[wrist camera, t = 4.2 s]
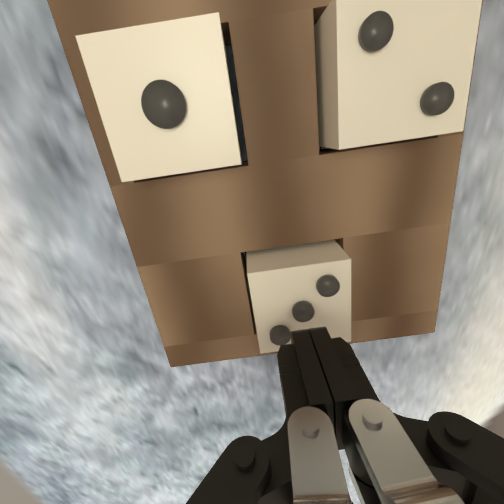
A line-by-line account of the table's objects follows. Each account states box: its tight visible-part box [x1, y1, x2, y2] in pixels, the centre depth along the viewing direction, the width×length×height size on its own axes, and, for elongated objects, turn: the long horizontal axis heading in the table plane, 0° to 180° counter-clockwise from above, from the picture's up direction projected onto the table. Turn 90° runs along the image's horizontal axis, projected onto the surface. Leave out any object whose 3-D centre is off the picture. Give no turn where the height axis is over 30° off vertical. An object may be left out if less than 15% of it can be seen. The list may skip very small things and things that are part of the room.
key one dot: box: [75, 12, 242, 182], centre depth 12 cm, size 5×5×4 cm
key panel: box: [47, 0, 483, 367], centre depth 16 cm, size 17×19×3 cm
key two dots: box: [314, 0, 482, 150], centre depth 12 cm, size 5×5×4 cm
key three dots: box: [246, 239, 351, 354], centre depth 16 cm, size 5×5×4 cm
